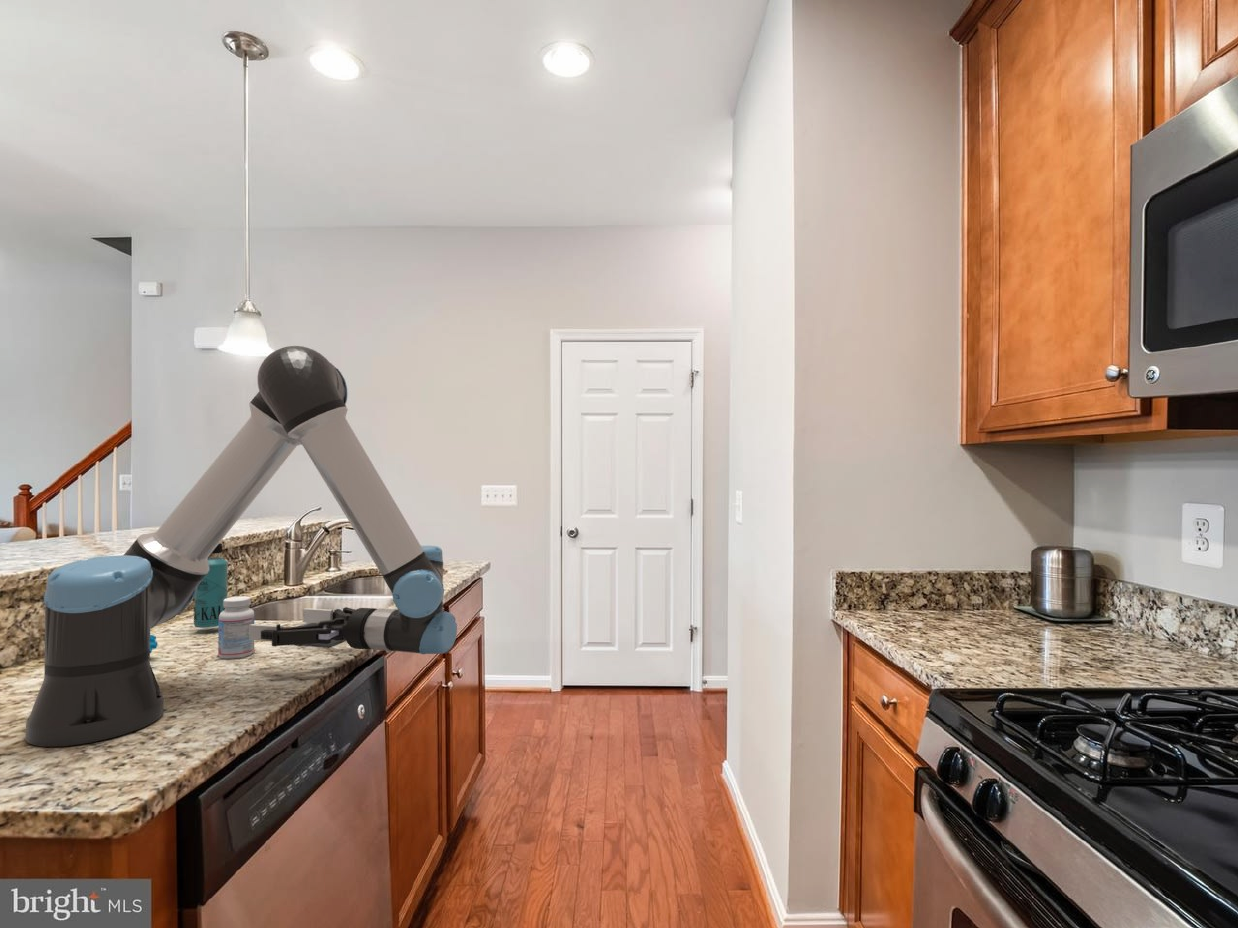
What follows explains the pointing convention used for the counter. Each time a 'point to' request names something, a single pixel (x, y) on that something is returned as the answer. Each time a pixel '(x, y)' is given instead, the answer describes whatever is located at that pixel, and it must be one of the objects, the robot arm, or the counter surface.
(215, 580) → the beverage bottle
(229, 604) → the pill bottle
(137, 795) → the counter surface
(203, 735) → the counter surface
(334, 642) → the tray
